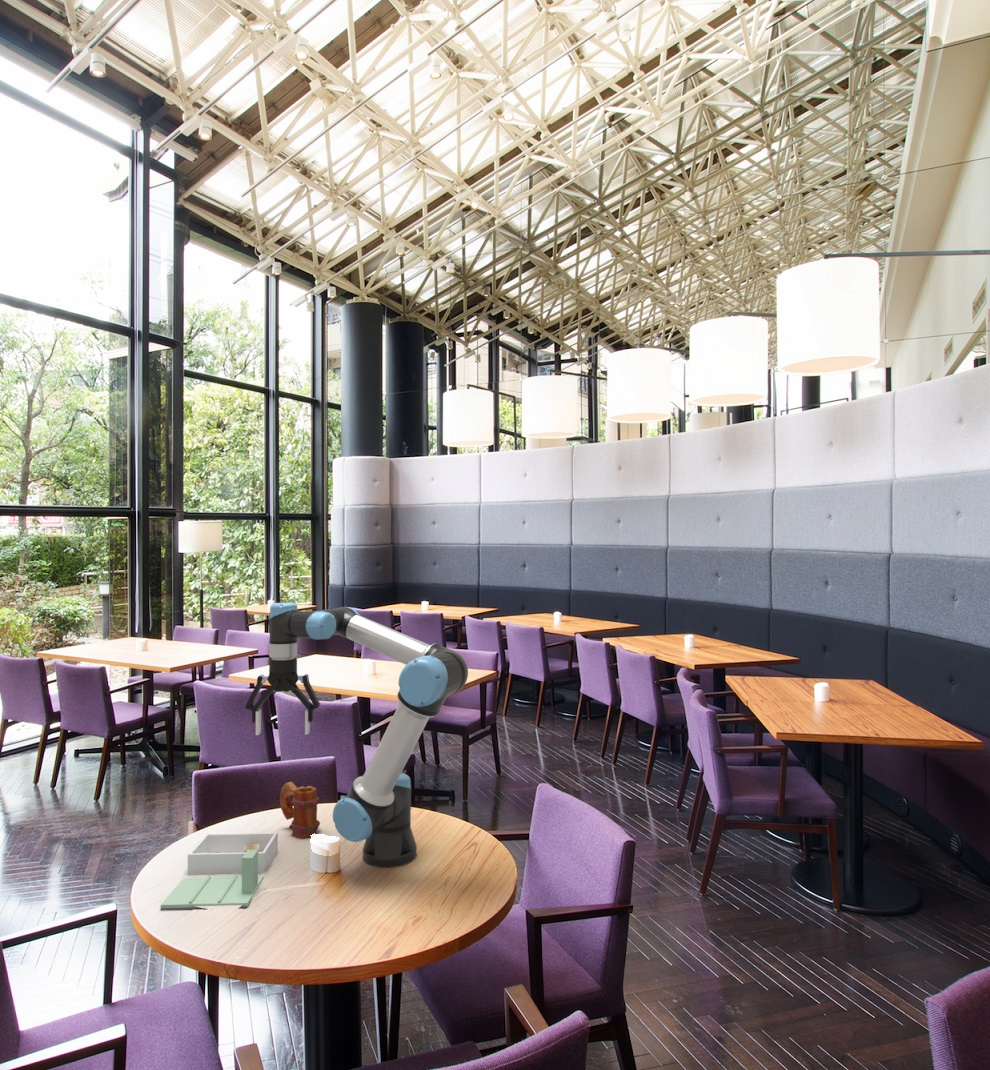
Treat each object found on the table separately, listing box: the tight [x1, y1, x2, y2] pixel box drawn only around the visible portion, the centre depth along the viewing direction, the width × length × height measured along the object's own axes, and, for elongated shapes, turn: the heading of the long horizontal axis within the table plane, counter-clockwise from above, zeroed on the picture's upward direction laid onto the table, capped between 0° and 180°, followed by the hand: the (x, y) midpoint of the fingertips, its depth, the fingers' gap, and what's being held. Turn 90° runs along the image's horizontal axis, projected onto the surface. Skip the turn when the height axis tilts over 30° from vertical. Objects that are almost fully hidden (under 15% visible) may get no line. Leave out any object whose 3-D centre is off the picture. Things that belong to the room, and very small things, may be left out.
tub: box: [187, 832, 279, 876], centre depth 201 cm, size 20×14×6 cm
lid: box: [160, 850, 265, 909], centre depth 184 cm, size 21×15×10 cm
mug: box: [279, 781, 321, 839], centre depth 222 cm, size 15×8×15 cm, turn 58°
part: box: [244, 844, 259, 852], centre depth 203 cm, size 4×4×3 cm
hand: (282, 733), depth 206 cm, fingers open, 13 cm apart
